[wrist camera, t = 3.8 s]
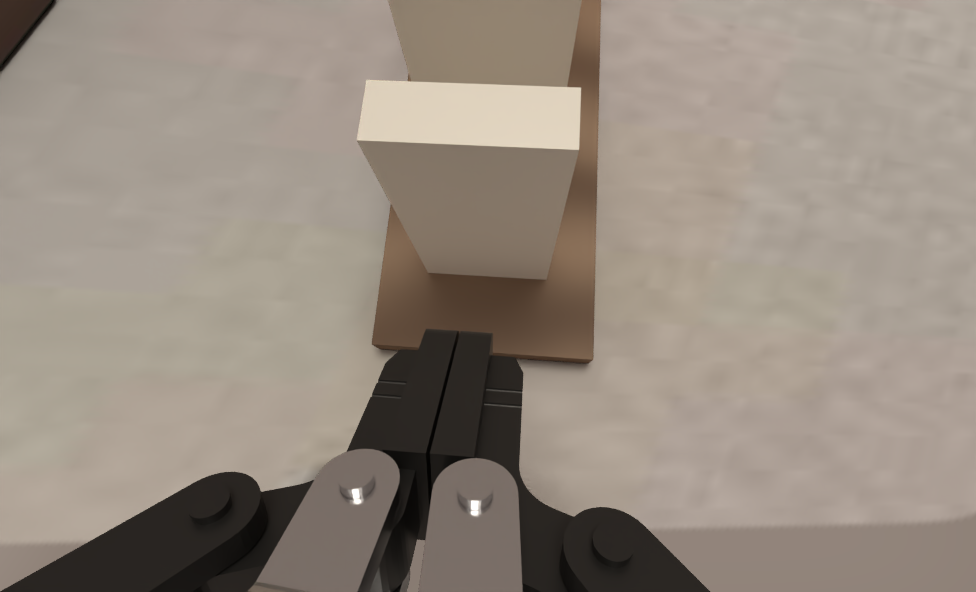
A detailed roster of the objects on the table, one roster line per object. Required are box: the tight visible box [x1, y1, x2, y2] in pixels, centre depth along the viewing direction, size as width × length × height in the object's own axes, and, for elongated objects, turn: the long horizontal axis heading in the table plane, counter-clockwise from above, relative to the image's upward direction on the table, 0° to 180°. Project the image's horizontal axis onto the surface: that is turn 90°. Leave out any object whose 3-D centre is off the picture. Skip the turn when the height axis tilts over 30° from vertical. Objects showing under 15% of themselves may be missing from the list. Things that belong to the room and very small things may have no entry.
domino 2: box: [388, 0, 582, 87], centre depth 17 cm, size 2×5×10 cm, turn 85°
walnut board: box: [372, 0, 601, 363], centre depth 24 cm, size 28×9×1 cm, turn 176°
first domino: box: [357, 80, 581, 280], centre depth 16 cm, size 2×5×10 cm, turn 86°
